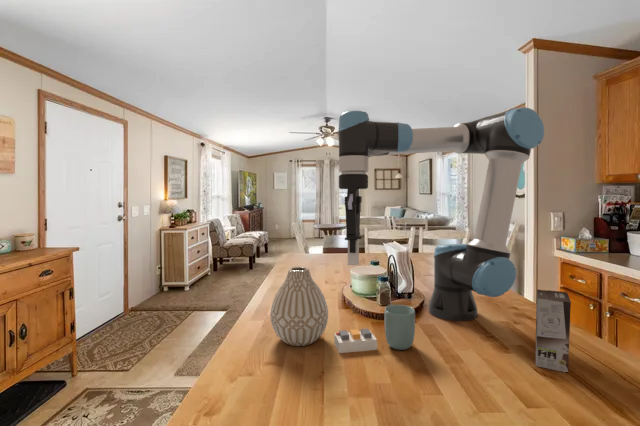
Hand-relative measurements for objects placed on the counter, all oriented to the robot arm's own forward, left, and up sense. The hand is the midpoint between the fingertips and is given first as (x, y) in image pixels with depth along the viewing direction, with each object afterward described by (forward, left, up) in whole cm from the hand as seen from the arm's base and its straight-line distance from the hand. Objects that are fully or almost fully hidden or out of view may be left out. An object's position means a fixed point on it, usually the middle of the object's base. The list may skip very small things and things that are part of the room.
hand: (353, 264), depth 90 cm
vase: (+15, -1, -22) cm, 27 cm away
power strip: (0, 0, -22) cm, 22 cm away
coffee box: (-47, -1, -22) cm, 52 cm away
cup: (-12, -2, -22) cm, 25 cm away
